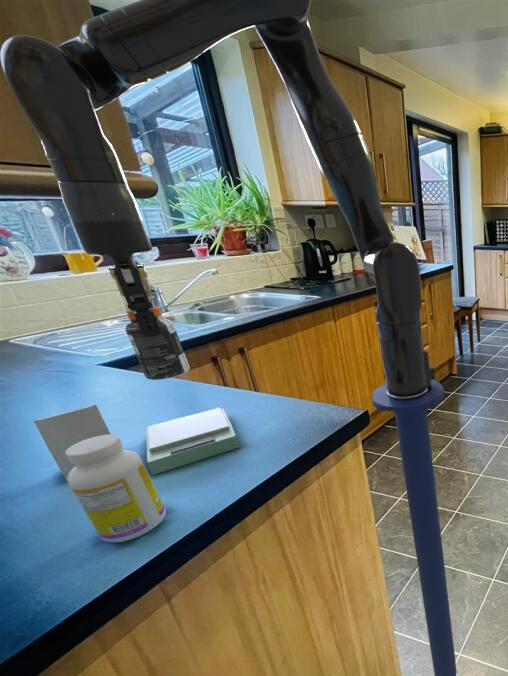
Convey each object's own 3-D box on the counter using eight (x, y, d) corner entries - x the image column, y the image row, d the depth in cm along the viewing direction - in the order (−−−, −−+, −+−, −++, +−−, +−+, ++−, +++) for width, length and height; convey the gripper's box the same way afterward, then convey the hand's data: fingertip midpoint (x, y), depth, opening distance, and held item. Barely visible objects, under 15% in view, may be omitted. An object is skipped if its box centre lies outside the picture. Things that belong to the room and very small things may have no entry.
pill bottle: (199, 367, 70) (176, 303, 65) (172, 381, 65) (145, 312, 60) (165, 367, 70) (140, 303, 66) (136, 381, 65) (106, 312, 60)
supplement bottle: (140, 506, 57) (101, 427, 51) (180, 511, 56) (144, 431, 50) (87, 542, 51) (36, 457, 45) (130, 548, 50) (83, 462, 44)
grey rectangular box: (123, 461, 67) (98, 408, 63) (66, 481, 62) (34, 425, 58) (119, 453, 69) (94, 401, 65) (64, 472, 64) (33, 417, 60)
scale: (227, 418, 80) (223, 405, 79) (240, 447, 70) (235, 432, 69) (150, 440, 73) (144, 426, 72) (152, 475, 63) (145, 459, 62)
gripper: (142, 217, 55) (184, 335, 62) (141, 217, 65) (177, 318, 72) (64, 219, 50) (119, 346, 57) (76, 218, 60) (122, 326, 67)
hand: (151, 330), depth 64 cm, fingers closed on pill bottle, 6 cm apart
